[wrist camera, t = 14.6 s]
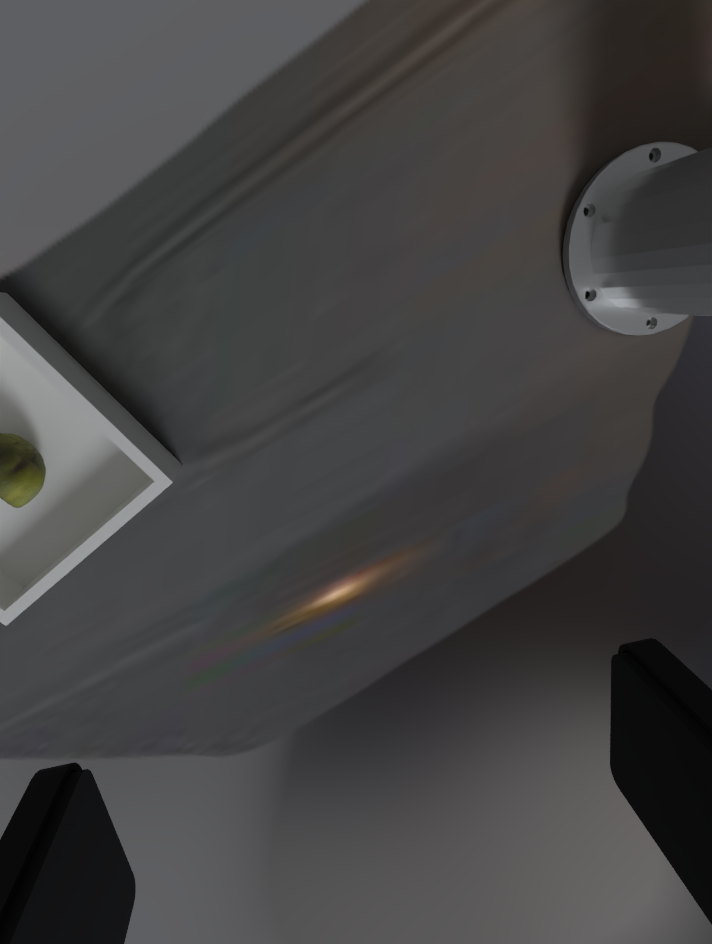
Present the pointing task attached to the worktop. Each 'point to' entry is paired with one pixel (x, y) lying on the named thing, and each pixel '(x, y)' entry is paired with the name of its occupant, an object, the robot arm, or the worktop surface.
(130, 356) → the worktop surface
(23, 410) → the bin
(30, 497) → the lime
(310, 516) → the worktop surface
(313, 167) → the worktop surface
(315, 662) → the worktop surface
